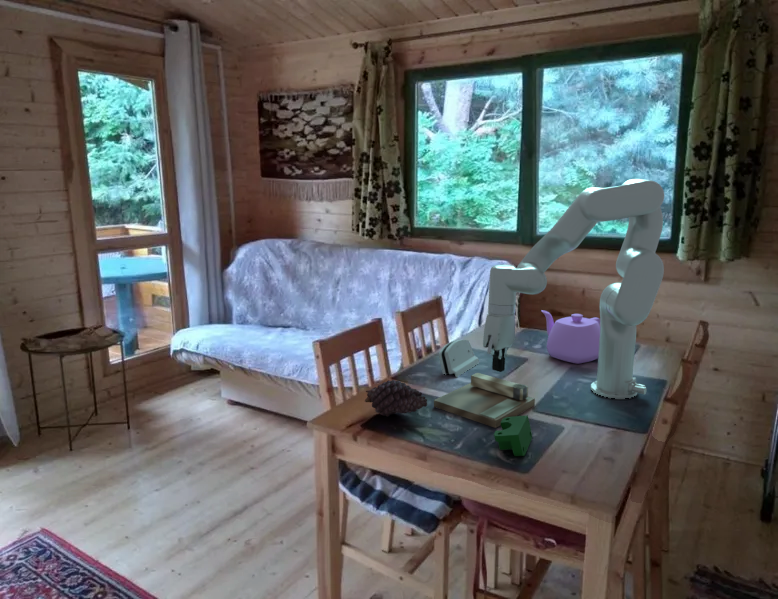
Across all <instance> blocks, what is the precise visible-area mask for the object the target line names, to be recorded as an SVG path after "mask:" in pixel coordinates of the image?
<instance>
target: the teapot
mask: <svg viewBox="0 0 778 599" xmlns="http://www.w3.org/2000/svg"><path fill="white" fill-rule="evenodd" d="M540 312H542V313H543V315H544V316H545V319H546V333H547V336H548V337H547V341H546V350H547V352H548V355H549V356H550V357H551V358H555V359H558V360H560V361H564V362H568V363H571V364H574V365H575V364H576V365H579V364H582V363H583V364H584V363H589V362H592V361H595V360H598V353H599V338H600V318H599V317H595V316H594V317H591V318H588V317H583V316H584V315H583V314H581V313H573V314H571V316H566V317H562V318H559V319H556V320H555V322H554V318H553V316H552V314H551V312H549V311H547V310H542V309H541V311H540Z"/></svg>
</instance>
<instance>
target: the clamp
mask: <svg viewBox="0 0 778 599" xmlns="http://www.w3.org/2000/svg"><path fill="white" fill-rule="evenodd" d="M529 419H530V418H529V416H528V415H527V414H526V415H517V416H513V417H506V418H503V419H502V421H501V425H500V427H501V430H496V429H495V431H494V433H493V437H494V442H497V444H498V448H499V450H501V451H505V450H512V453H513V455H514V457H525V456H526V453H527V451H528V448H529V446H530V444H531V442H532V439H533V432H532V428H531V423H530V420H529Z"/></svg>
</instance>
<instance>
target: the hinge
mask: <svg viewBox="0 0 778 599" xmlns="http://www.w3.org/2000/svg"><path fill="white" fill-rule="evenodd" d="M438 358H439V363H440V367H441V368H440V369H441V372H442V375H443V374H445V375H444V376H447V375H448V374H449V375H453V374H454V375H455V378H459V377H460V376H462V375H463V374H465V373H467V372H468V371H470V370H471V369H473V368H474V367H476V366H478V365H479V364H480V363H481V362H480V359H479V357H478V356H476V355H475V353H474V351H473V348H472V344H471V342H470V340H468V339H457V340H454V341H450V342H448V343H447V344H445V345H444V346H443V347H442V348H441V349H440V351H439V352H438ZM477 364H478V365H477ZM475 365H476V366H475ZM472 367H473V368H472ZM469 369H470V370H469ZM467 370H468V371H467ZM466 371H467V372H466ZM464 372H465V373H464ZM461 374H462V375H461ZM459 375H460V376H459ZM458 376H459V377H458Z"/></svg>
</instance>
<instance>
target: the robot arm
mask: <svg viewBox="0 0 778 599" xmlns="http://www.w3.org/2000/svg"><path fill="white" fill-rule="evenodd" d="M664 200H665V190H664V188H663V187H662V186H661V184H660V183H658V182H656V181H654V180H651V179H643V178H632V179H631V178H630V179H628V180H626V181H624V182H623V183H622V184H621V185H618V186H617V185H616V186H609V187H595V186H594V187H592V186H591V187H588V188H586V189H584V190H582V191H581V192H580V193H579V195H578V196H577V197H576V198H575V199H574V200H573V202H572V203H571V204H570V205H569V207H568V208H566V210H565V211H564V213H563V214H562V216H560V218H559V219H558V220H557V222H555V224H554V225H553V226H552V228H550V230H548V231H547V232H546V233H545V235H543V236H542V237H541V238H540V239H539V240H538V241H537V242H536V243H535V244H534V245H533V247H531V248H530V250H529V251H528V252H527V253H526V255H525V256H524V257H523V258H522V259H521V261H520V262H519V263H518V264H517V267H515V266H514V265H509V264H495V265H492V266H491V268H490V269H489V285H488V286H489V287H488V305H487V306H488V309H487V314H486V318H485V322H484V328H483V336H482V347H483V348H484V349H485V348H487V351H486V353H487V355H491V358H492V362H491V363H492V365H491V367H492V368H491V369H492V370H493V371H495V372H496V371H497V372H498V373H502V372H504V371H505V369H506V368H505V366H506V358H507V355H508V354H507V353H508V350H509V349H510V348H512V345H513V344H514V342H515V340H516V339H515V338H516V337H515V335H516V319H515V318H516V317H515V316H516V315H515V314H516V303H517V299H516V298H517V293H518V294H519V293H520V294H526V295H538V294H540V293H541V292H543V291H544V290H545V289H546V287H547V284H548V279H547V278H548V277H547V275H546V273H545V272H547V270H548V269H549V268H550V267H551V265H553V263H554V262H555V261H556V260H558V259H559V258H560V257H562V256H563V255H565V254H568V253H570V252H572V251H574V250H575V249H577V248H578V247H579V246H580V244H581V243H582V242H583V241H584V239H585V238H586V237H587V236H588V234H590V232H591V231H592V230H593V229H594V227H595V226H596V225H597V224H598V223H600V222H610V221H617V220H622V219H623V220H624V219H628V226H627V230H626V233H625V236H624V240H623V242H622V245H621V248H620V250H619V253H618V255H617V258H616V262H615V269H616V272H617V273H618V275H619V276H620V277H621V278H622V280H621V282H613V283H610V284H608V285H607V286H606V287H605V288H604V289H603V290H602V293H601V294H600V297H599V316H600V318H599V319H600V325H599V326H600V338H599V353H598V358H597V369H596V370H597V371H596V380H595V381H593V382H592V383H591V384H590V390H592V391H593V392H592V391H591V392H592V393H594V394H595V393H596V394H595V395H597V394H598V395H597V396H599V395H601V396H600V397H602V396H604V397H603V398H606V397H608V398H607V399H611V398H615V399H614V400H626V399H625V398H629V399H632V398H631V397H633V398H635V397H636V396H638V394H641V395H646V393H647V387H646V385H645V384H641V383H638V382H637V377H635V376H634V374H633V373H634V365H635V364H634V362H635V350H636V340H637V326H638V325H640V324H642V323H643V322H644V321H645V320H646V319H647V318H648V316H649V314H650V313H651V310H652V308H653V307H654V306H653V305H654V303H655V300H656V297H657V295H658V292H659V290H660V288H661V287H660V286H661V285H662V281H663V278H664V273H665V266H664V261H663V260H662V258H661V257H660V255H658V254H657V252H656V251H657V248H658V245H659V242H660V238H661V235H662V231H663V227H664V216H663V212H662V208H661V206H662V205H663V203H664ZM633 376H634V377H633ZM634 396H635V397H634Z"/></svg>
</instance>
